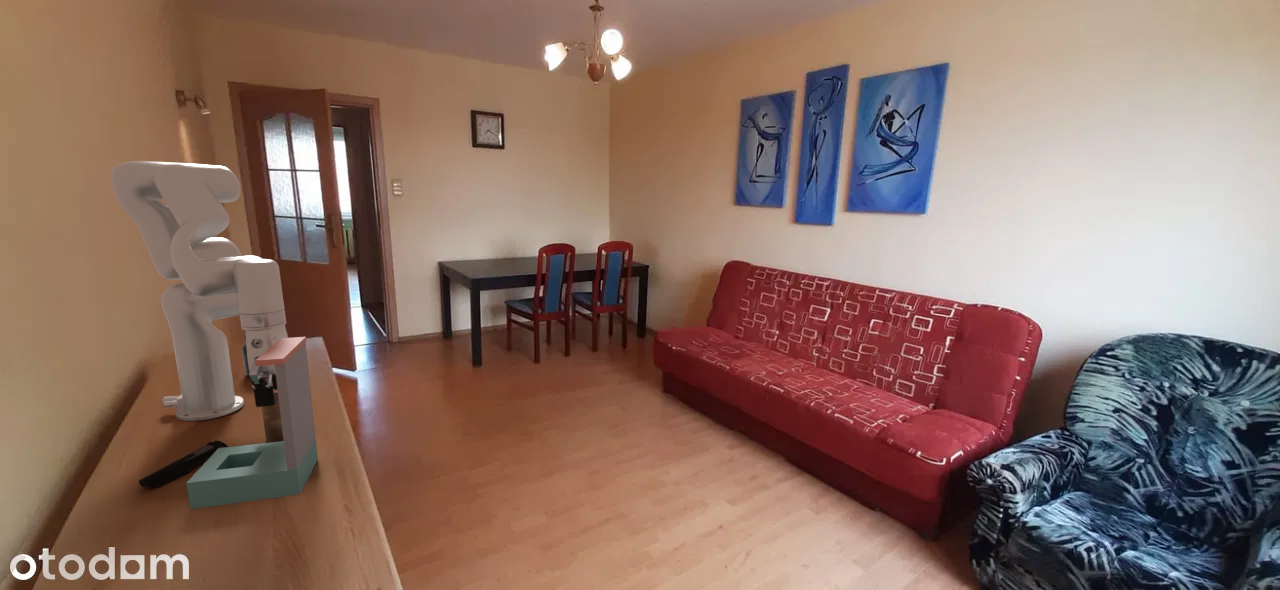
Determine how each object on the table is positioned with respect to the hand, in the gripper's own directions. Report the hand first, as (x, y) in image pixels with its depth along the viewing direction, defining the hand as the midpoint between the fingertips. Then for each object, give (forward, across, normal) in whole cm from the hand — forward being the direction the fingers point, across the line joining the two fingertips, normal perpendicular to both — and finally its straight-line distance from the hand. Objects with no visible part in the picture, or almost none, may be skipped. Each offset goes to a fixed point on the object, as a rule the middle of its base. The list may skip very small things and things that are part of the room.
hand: (274, 396), depth 107 cm
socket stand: (+10, -17, -2) cm, 20 cm away
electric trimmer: (+10, -8, +13) cm, 18 cm away
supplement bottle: (+9, +46, +18) cm, 50 cm away
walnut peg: (+10, +1, +1) cm, 10 cm away
